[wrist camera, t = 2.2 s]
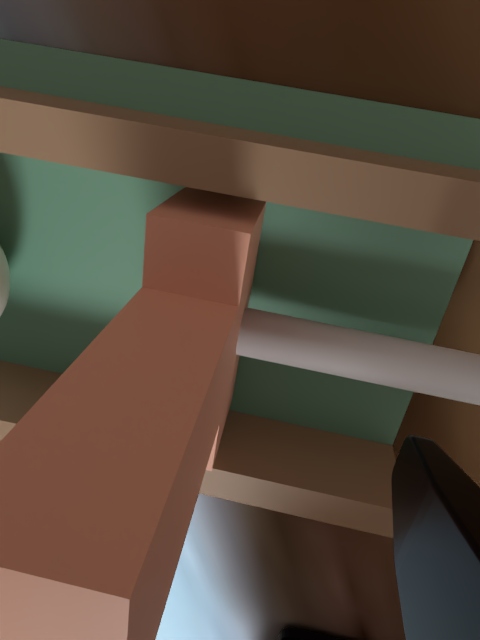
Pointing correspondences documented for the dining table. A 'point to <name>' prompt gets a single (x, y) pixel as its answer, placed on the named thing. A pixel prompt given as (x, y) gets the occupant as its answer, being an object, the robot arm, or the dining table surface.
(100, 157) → the pitch
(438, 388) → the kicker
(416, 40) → the dining table surface
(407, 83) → the dining table surface
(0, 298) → the ball
